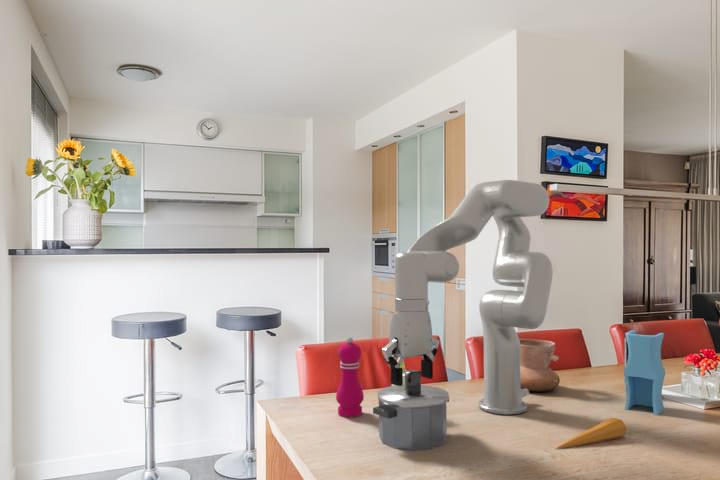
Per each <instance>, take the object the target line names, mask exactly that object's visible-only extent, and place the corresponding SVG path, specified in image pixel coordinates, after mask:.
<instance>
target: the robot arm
mask: <svg viewBox="0 0 720 480" xmlns="http://www.w3.org/2000/svg"><path fill="white" fill-rule="evenodd" d="M549 205H550V195H549V192H548V191H547V188H545V186H543V185H541V184H539V183H535V182H528V181H522V180H514V179H501V180H496V181H495V180H494V181H487V182H486V181H485V182H480V183H478V184H475V185H474V186H473V187H472V188H471V189H470V190H469V191H468V193H467V194H466V195H465V196H464V198H462V200H461V201H460V203H459V205H458V206H457V207H456V208H455V209H454V211H453V212H452V213H451V215H450V216H449V217H448V218H445V219H444V220H443V221H441V222H439V223H438V224H436V225H435V226H433V227H431V228H430V229H428V230H427V231H426V232H425V231H424V233H423V234H421V235H420V236H419V237H418V238H417V239H416V240H415V241H414V243H413V244H412V245H411V246H410V248H409V249H408V250H407V251H406V252H405V251H402V252H398V253H397V254H396V255H395V257H394V311H395V312H392V314H391V320H390V327H389V337H388V343H387V344H386V345H385V346H384V347H382V349H381V352H382V354H383V357H384V360H385V362H386V363H387V365H388V367H390V384H391V385H392V384H393V385H397V386H402V385H403V369H402V368H400V366H401V364H402V362H403V361H404V362H405V359H410V358H415V357H420V356H421V357H422V359H421V360H420V371H421V378H423V379H424V378H425V379H429V380H433V379H434V374H433V373H434V372H433V371H434V361H435V358H436V357H435V356H436V354H438V348H439V345H440V340H439V339H437V338H436V337H434V336H433V329H432V321H431V315H430V311H429V305H430V301H429V283H435V284H436V283H438V284H443V283H444V284H445V283H450V282H451V281H453V280H454V279H455V278H456V277H457V276H458V275H459V271H460V263H459V260H458V258H457V257H456V256H455V255H454V254H453V253H451V252H449V251H448V250H451V249H454V248H457V247H460V246H463V245H465V244H467V243H471V242H472V241H474V240H476V239H477V238H478V237H479V235H480V234H481V232H482V231H483V230H484V228H485V226H486V225H487V223H489V221H490V220H491V219H492V217H493V219H494V222H495V223H496V226H497V229H498V242H497V247H496V250H495V251H496V252H495V257H494V262H493V265H492V278H493V280H494V282H495V283H496V284H498V285H500V286H505V287H511V288H513V287H514V288H523V291H521V290H520V291H519V290H513V289H511V290H509V289H491V290H488V291H487V292H485V293H484V294H483V295H482V296H481V297H480V300H479V304H478V305H479V306H478V307H479V315H480V319H481V325H482V334H483V391H484V392H483V397H484V398H482V399H479V401H478V408H479V409H480V410H482V411H484V412H487V413H490V414H491V413H492V414H495V415H496V414H497V415H519V414H523V413H525V412H526V411H527V410H528V405H527V403H526V402H524V401H523V398H524V397H526V396H529V394H530V391H529V390H528V389H526V388H525V389H521V374H520V340H519V339H520V337H519V335H518V333H517V331H516V329H517V328H519V329H525V330H535V329H537V328H539V327H541V326H542V324H543V323H544V321H545V318H546V314H547V311H548V310H547V309H548V304H549V299H550V293H551V287H552V281H553V266H552V261H551V259H550V258H549V257H548V256H547V255H546V254H545V253H543V252H539V251H530V247H531V246H530V245H531V232H530V231H529V228H528V227H527V225H526V224H525V222H524V221H523V219H522V218H525V217H540V216H541V215H543V214H544V213H546V211H547V209H548V208H549ZM515 328H516V329H515Z"/></svg>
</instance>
